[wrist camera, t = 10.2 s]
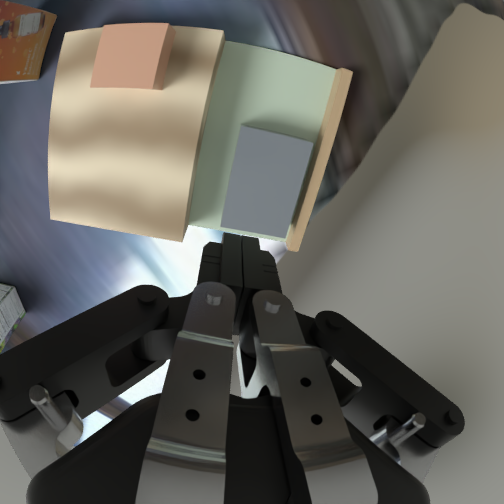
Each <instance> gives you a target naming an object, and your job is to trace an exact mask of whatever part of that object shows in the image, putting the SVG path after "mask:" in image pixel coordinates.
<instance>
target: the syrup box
mask: <svg viewBox="0 0 504 504" xmlns="http://www.w3.org/2000/svg"><path fill="white" fill-rule="evenodd" d="M25 314H26V312H25V310H24V307H23V305H22V303H21V300H20V298H19V296H18V293H17V291H16V288H15V287H14V286H10V285H6V284H2V283H0V353H1V351H2V349H3V348H4V346H5V344H6V343H7V341H8V339H9V338H10V336H11V335H12V333H13V332H14V330H15V329H16V327H17V326H18V324H19V323H20V321H21V320H22V318H23V317H24V316H25Z"/></svg>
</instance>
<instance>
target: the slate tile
mask: <svg viewBox="0 0 504 504" xmlns="http://www.w3.org/2000/svg"><path fill="white" fill-rule="evenodd" d="M313 144H314V143H312V142H310V141H309V140H307V139H304V138H300V137H296V136H292V135H288V134H284V133H280V132H276V131H272V130H268V129H263V128H259V127H254V126H249V125H244V124H241V126H240V130H239V135H238V139H237V144H236V148H235V153H234V158H233V162H232V167H231V172H230V177H229V182H228V186H227V191H226V196H225V201H224V206H223V212H222V217H221V226H220V227H224V228H230V229H235V230H241V231H247V232H252V233H258V234H263V235H269V236H274V237H280V238H286V235H287V232H288V229H289V225H290V222H291V219H292V216H293V212H294V209H295V206H296V202H297V199H298V196H299V192H300V189H301V185H302V182H303V179H304V175H305V172H306V168H307V165H308V161H309V158H310V154H311V151H312V147H313Z"/></svg>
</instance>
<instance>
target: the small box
mask: <svg viewBox="0 0 504 504" xmlns="http://www.w3.org/2000/svg"><path fill="white" fill-rule="evenodd" d="M56 18H57V15H56V14H53V13H50V12H47V11H44V10H40V9H37V8H33V7H30V6H26V5H21V4H17V3H13V2H8V1H3V0H0V84H6V83H15V82H24V81H35V80H38V79H39V74H40V69H41V65H42V61H43V57H44V53H45V50H46V46H47V43H48V40H49V37H50V34H51V31H52V28H53V25H54V23H55V21H56Z"/></svg>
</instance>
